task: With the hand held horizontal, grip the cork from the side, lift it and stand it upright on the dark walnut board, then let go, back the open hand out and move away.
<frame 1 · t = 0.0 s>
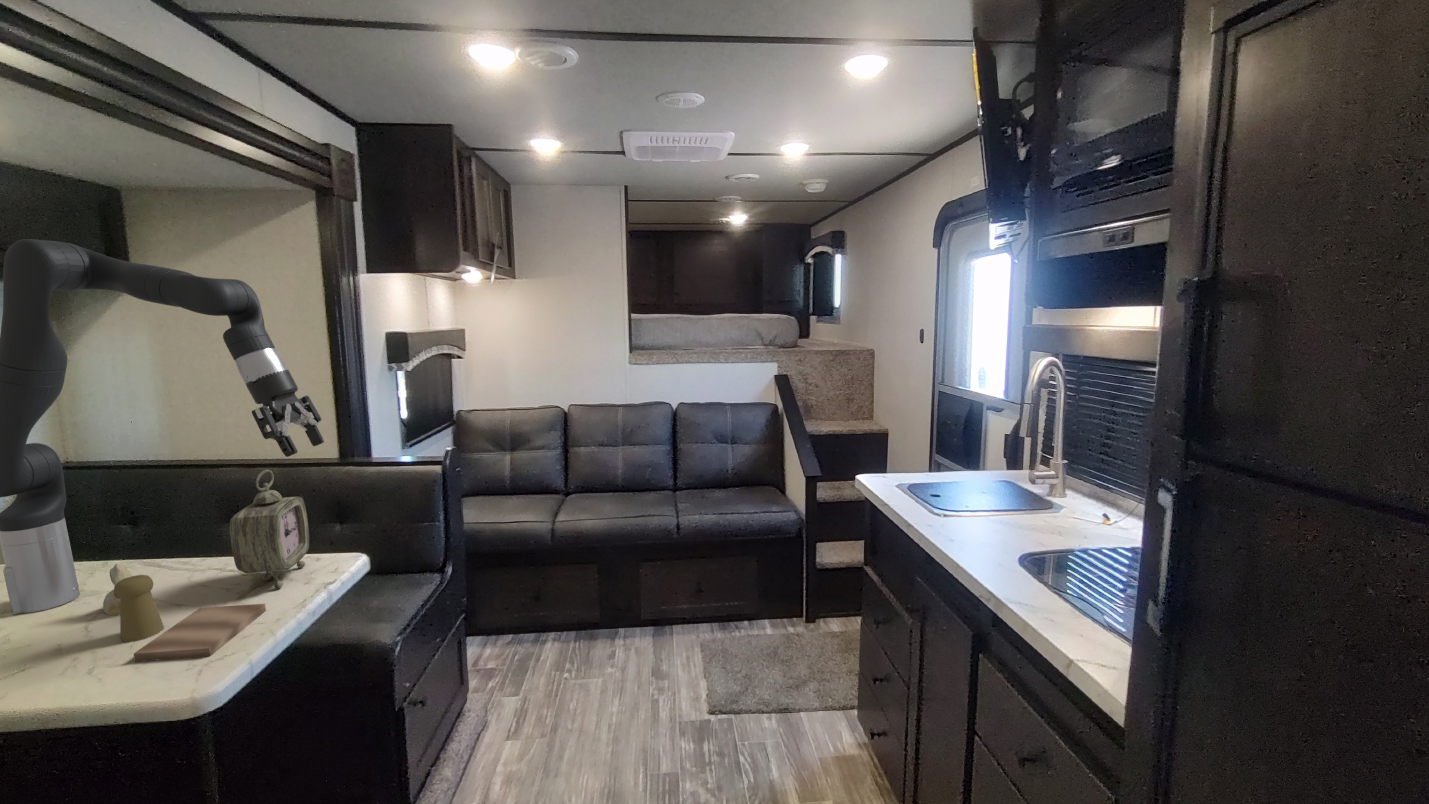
hand: (305, 449, 123), 31 cm above the table, tool tilted 20°, fingers open, 8 cm apart
cork: (142, 634, 115), on the table
tabletop clock: (277, 580, 136), on the table
chocolate bunny: (124, 610, 124), on the table
walnut board: (205, 634, 114), on the table
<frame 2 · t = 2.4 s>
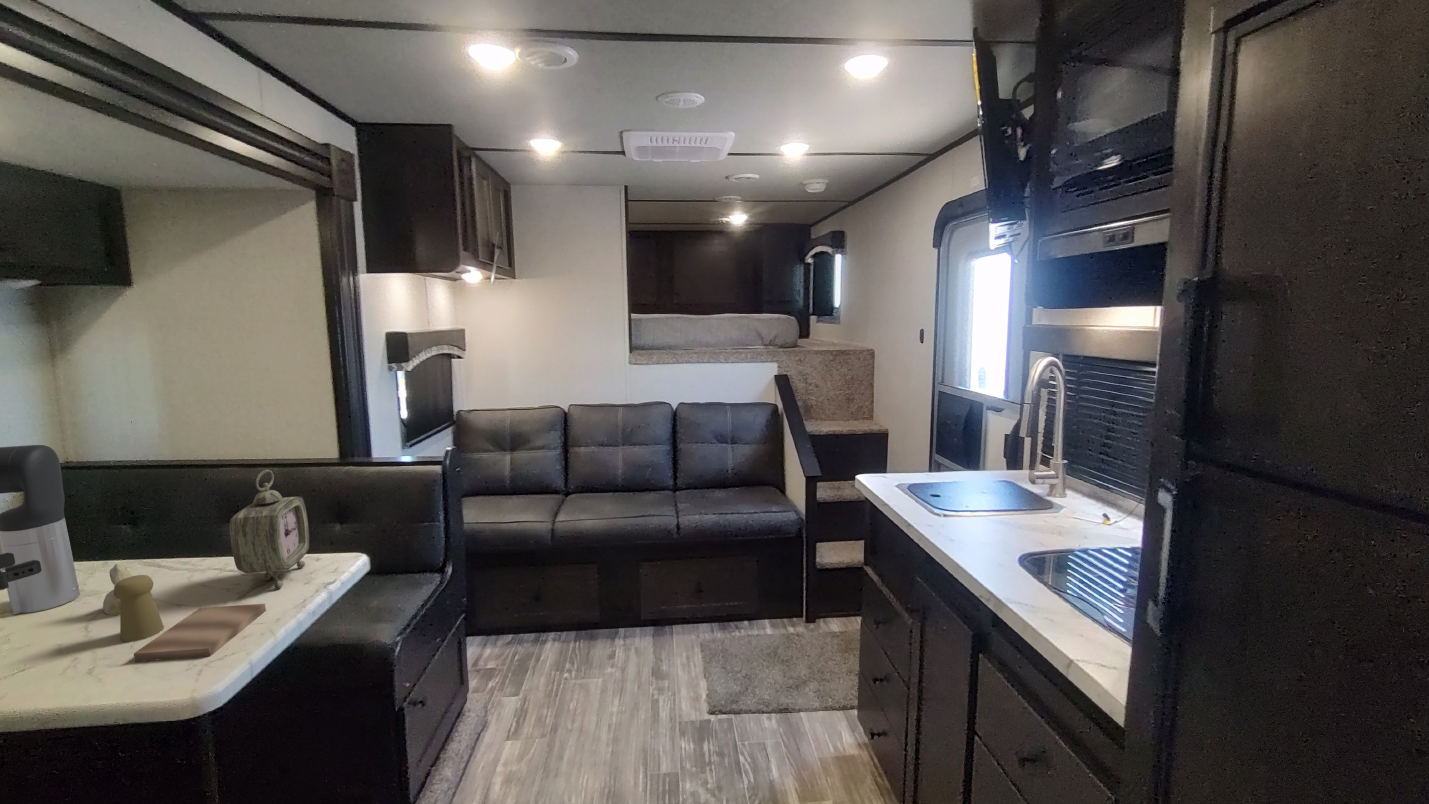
hand: (26, 561, 100), 19 cm above the table, tool horizontal, fingers open, 8 cm apart
nothing on the table moved.
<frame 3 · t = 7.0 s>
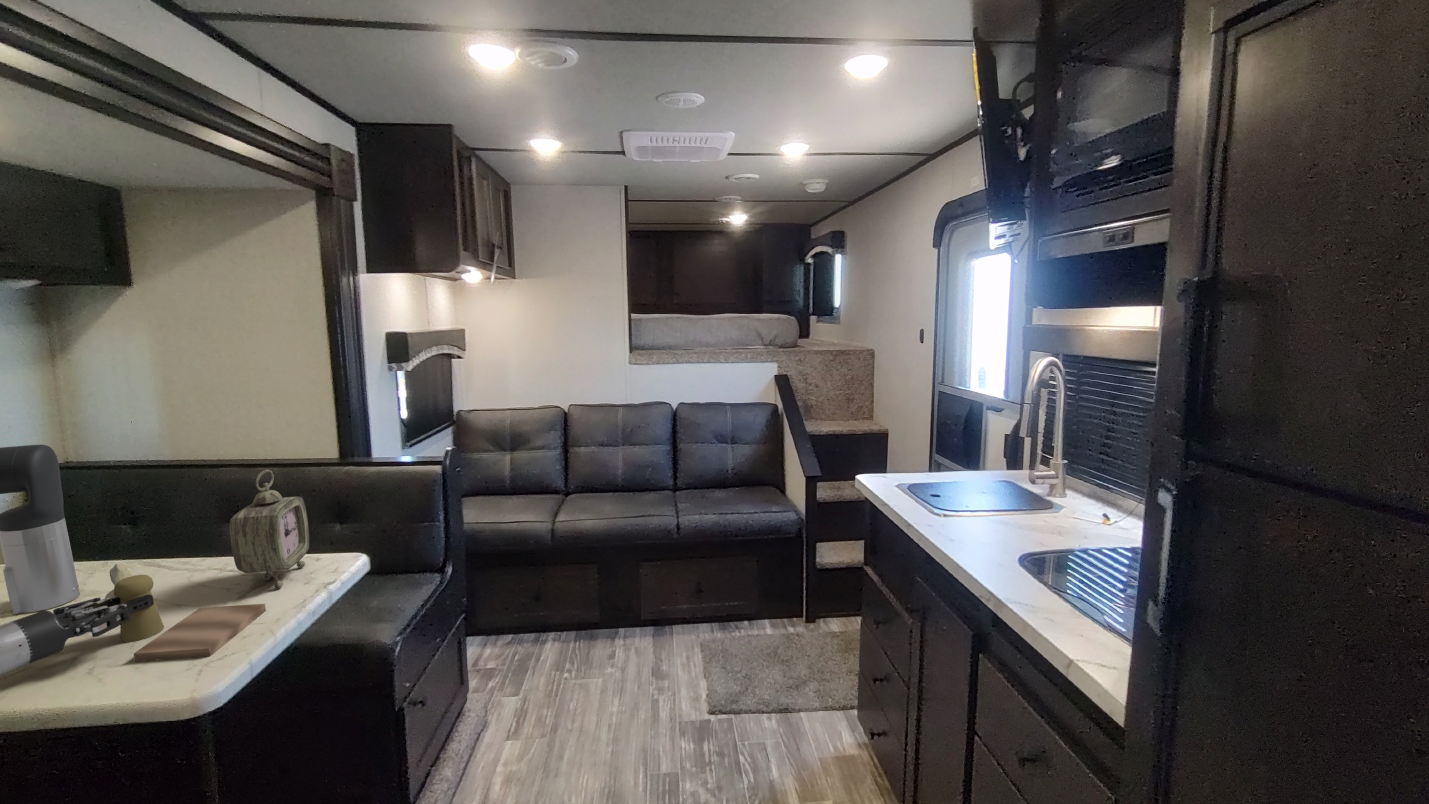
hand: (144, 597, 115), 7 cm above the table, tool horizontal, fingers closed on cork, 4 cm apart
cork: (142, 633, 115), on the table, touching gripper
everything else where it was.
when the fingers open (9 cm above the table, at t = 12.0 s): cork moves 3 cm, resting on walnut board.
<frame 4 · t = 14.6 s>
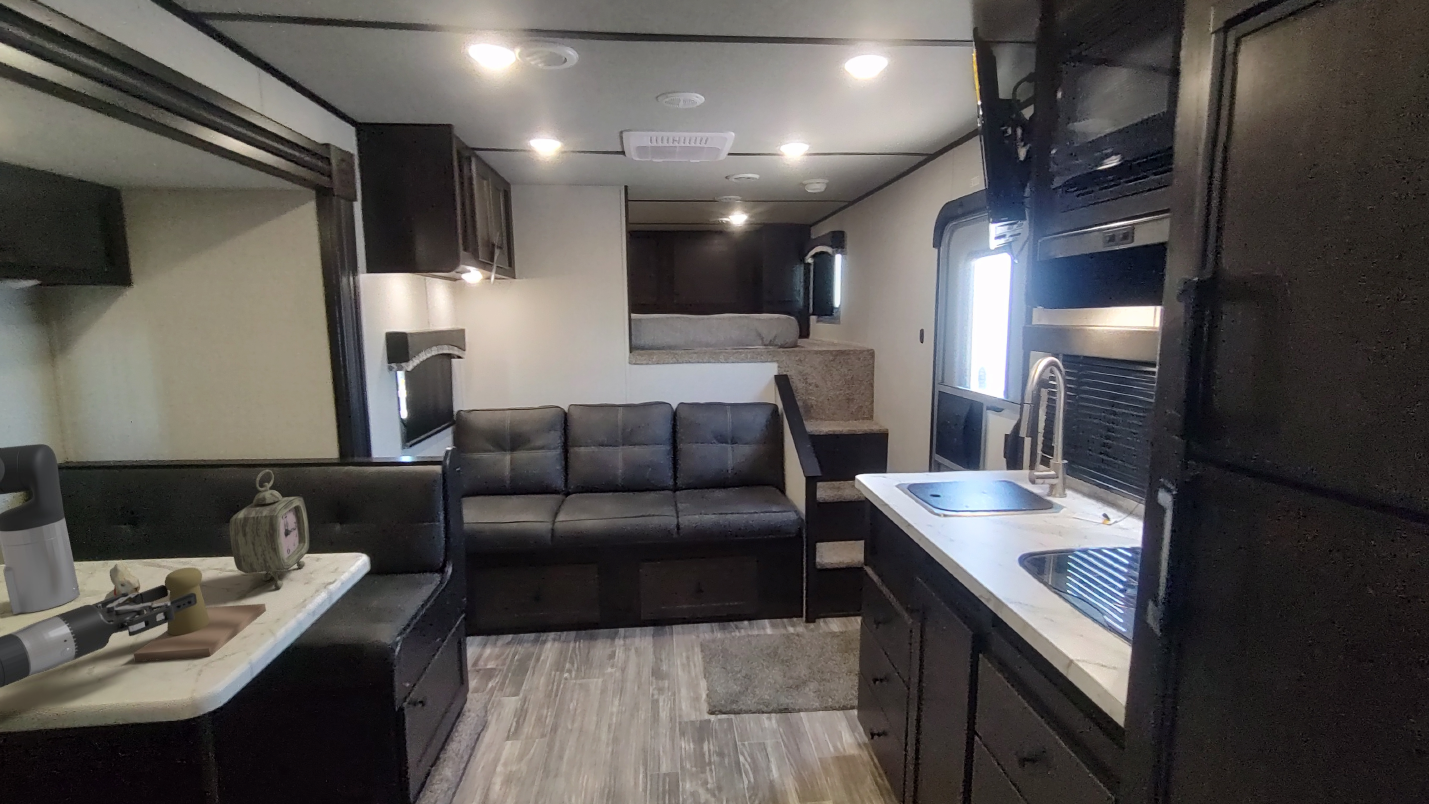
hand: (180, 593, 110), 9 cm above the table, tool horizontal, fingers open, 8 cm apart
cork: (188, 627, 114), point 1 cm above the table, touching walnut board
everything else where it was.
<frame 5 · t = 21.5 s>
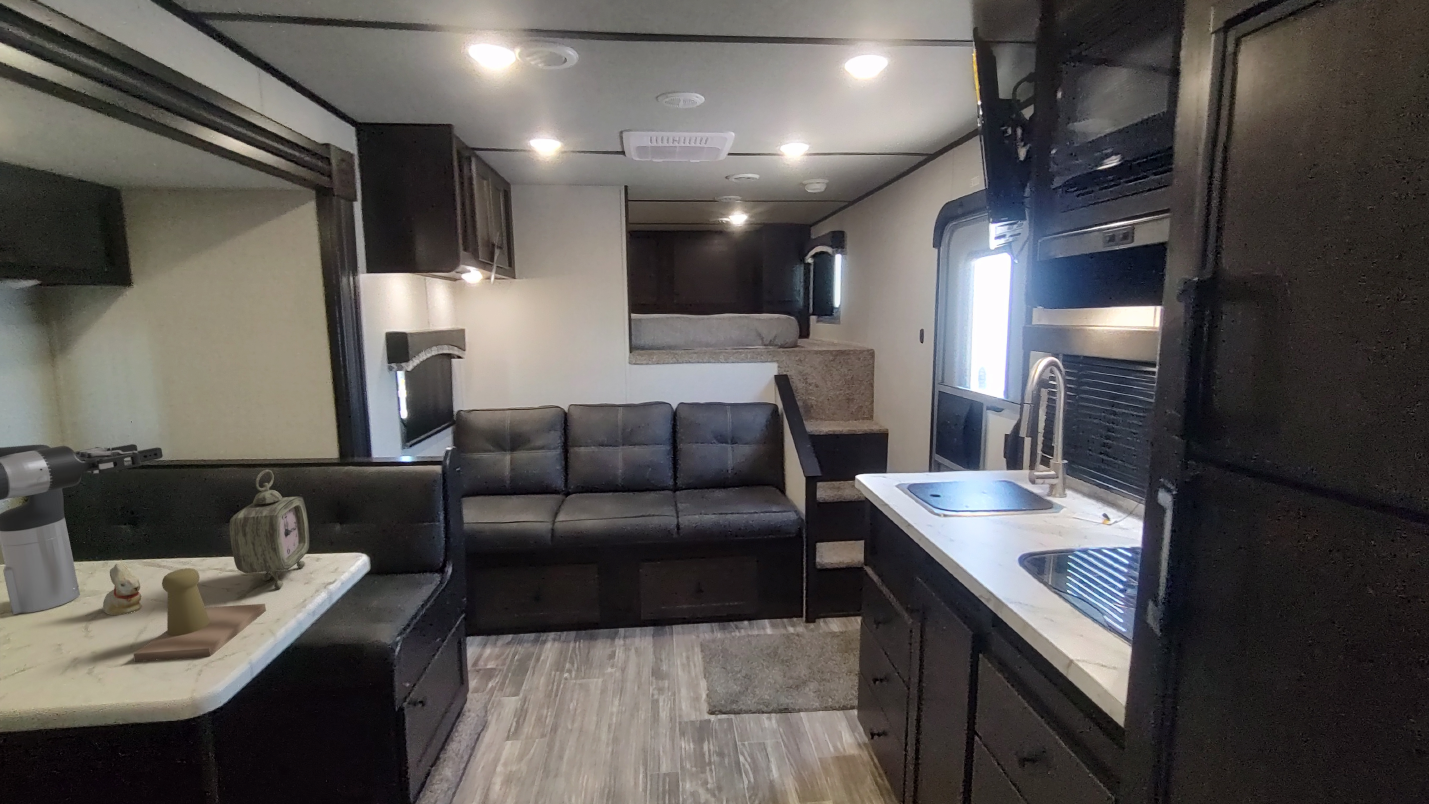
hand: (148, 450, 122), 32 cm above the table, tool horizontal, fingers open, 8 cm apart
nothing on the table moved.
at the end: cork inside the target area on the walnut board (2.8 cm from its centre), point 1.3 cm above the walnut board's base; cork tilted 0°; cork touching walnut board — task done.
